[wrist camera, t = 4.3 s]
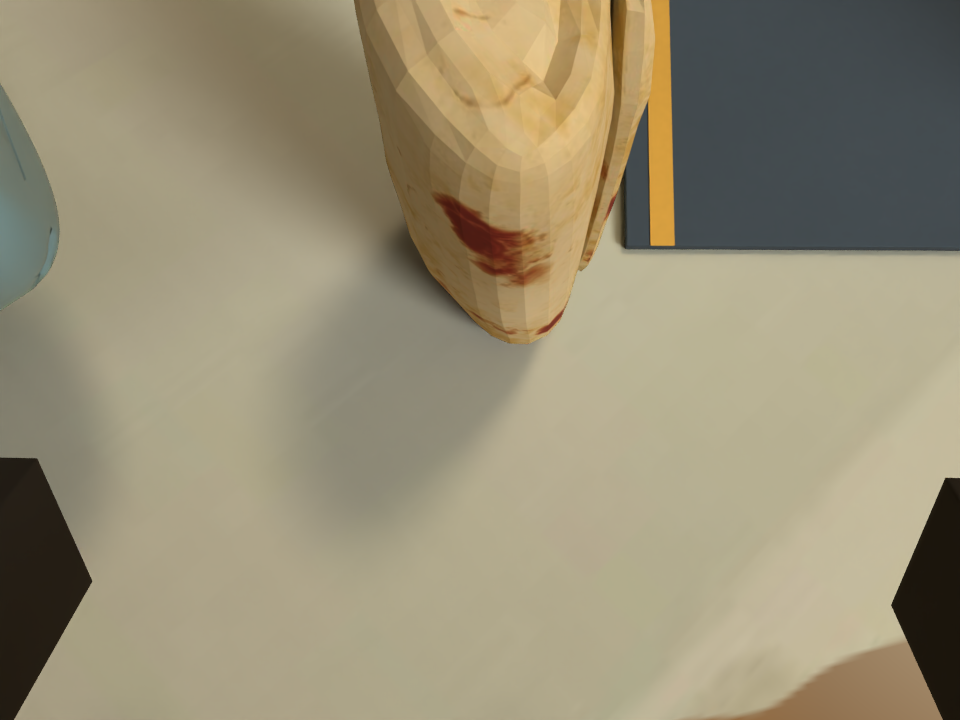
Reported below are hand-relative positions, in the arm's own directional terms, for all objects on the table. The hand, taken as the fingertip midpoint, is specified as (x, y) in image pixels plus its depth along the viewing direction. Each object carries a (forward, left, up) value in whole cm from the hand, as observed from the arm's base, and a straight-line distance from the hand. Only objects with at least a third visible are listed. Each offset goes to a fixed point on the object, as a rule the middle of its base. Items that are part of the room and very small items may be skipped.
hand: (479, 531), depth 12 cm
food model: (0, +11, -21) cm, 23 cm away
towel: (+14, +18, -20) cm, 31 cm away
